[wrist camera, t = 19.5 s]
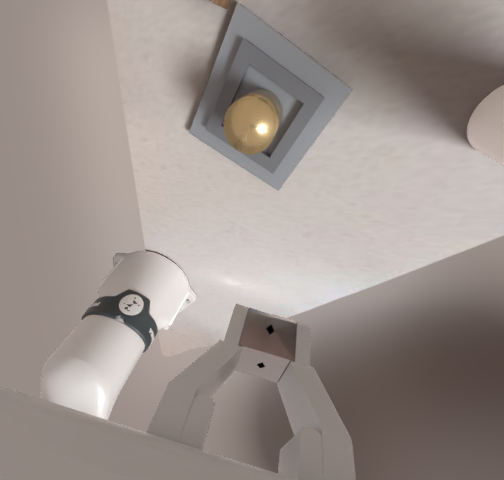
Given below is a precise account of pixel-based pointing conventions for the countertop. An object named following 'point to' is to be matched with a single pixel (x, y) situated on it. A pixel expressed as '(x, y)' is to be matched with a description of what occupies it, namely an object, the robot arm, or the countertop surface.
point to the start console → (222, 3)
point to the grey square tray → (275, 80)
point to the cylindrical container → (488, 126)
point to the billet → (253, 121)
